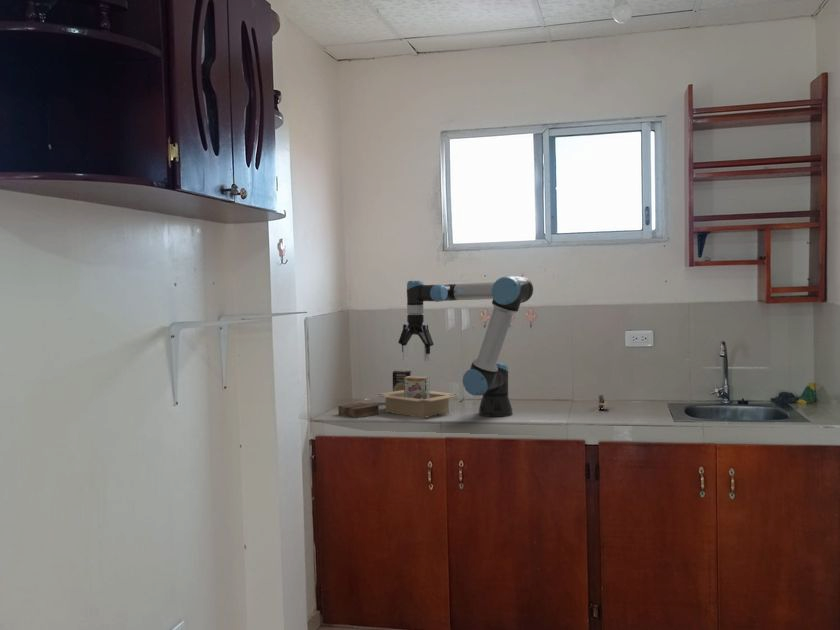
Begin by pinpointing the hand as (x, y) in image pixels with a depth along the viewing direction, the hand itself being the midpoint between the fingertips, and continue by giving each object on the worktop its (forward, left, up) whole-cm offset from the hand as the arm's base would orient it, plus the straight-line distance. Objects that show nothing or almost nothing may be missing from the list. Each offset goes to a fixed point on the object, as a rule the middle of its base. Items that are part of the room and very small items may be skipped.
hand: (415, 360), depth 348 cm
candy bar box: (0, 0, -24) cm, 24 cm away
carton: (0, 0, -24) cm, 24 cm away
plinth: (+17, +21, -24) cm, 36 cm away
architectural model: (-62, -58, -25) cm, 89 cm away
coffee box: (+24, -14, -24) cm, 37 cm away
